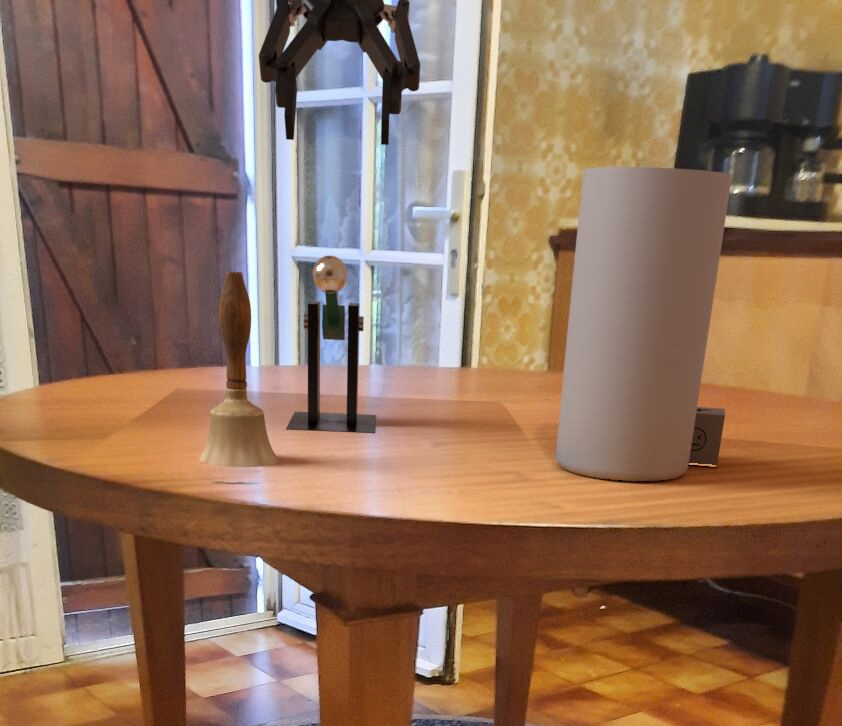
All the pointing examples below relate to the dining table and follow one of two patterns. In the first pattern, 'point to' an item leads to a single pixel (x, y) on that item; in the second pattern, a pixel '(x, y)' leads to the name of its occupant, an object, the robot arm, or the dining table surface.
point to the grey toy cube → (707, 435)
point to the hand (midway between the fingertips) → (337, 130)
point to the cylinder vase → (639, 319)
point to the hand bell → (236, 391)
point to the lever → (331, 295)
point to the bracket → (313, 417)
